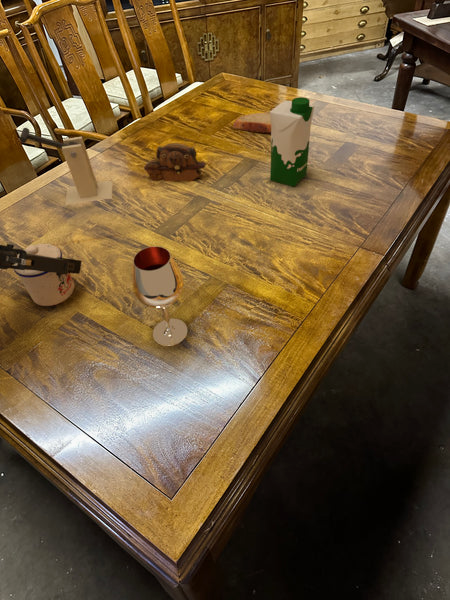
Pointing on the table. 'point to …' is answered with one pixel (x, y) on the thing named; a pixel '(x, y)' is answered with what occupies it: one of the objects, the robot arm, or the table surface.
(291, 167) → the milk carton
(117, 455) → the table surface
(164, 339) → the wineglass
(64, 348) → the table surface
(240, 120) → the slice of bread
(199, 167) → the wooden carving
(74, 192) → the tan upright plank
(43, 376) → the table surface
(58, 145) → the lever
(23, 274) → the teacup with lid
